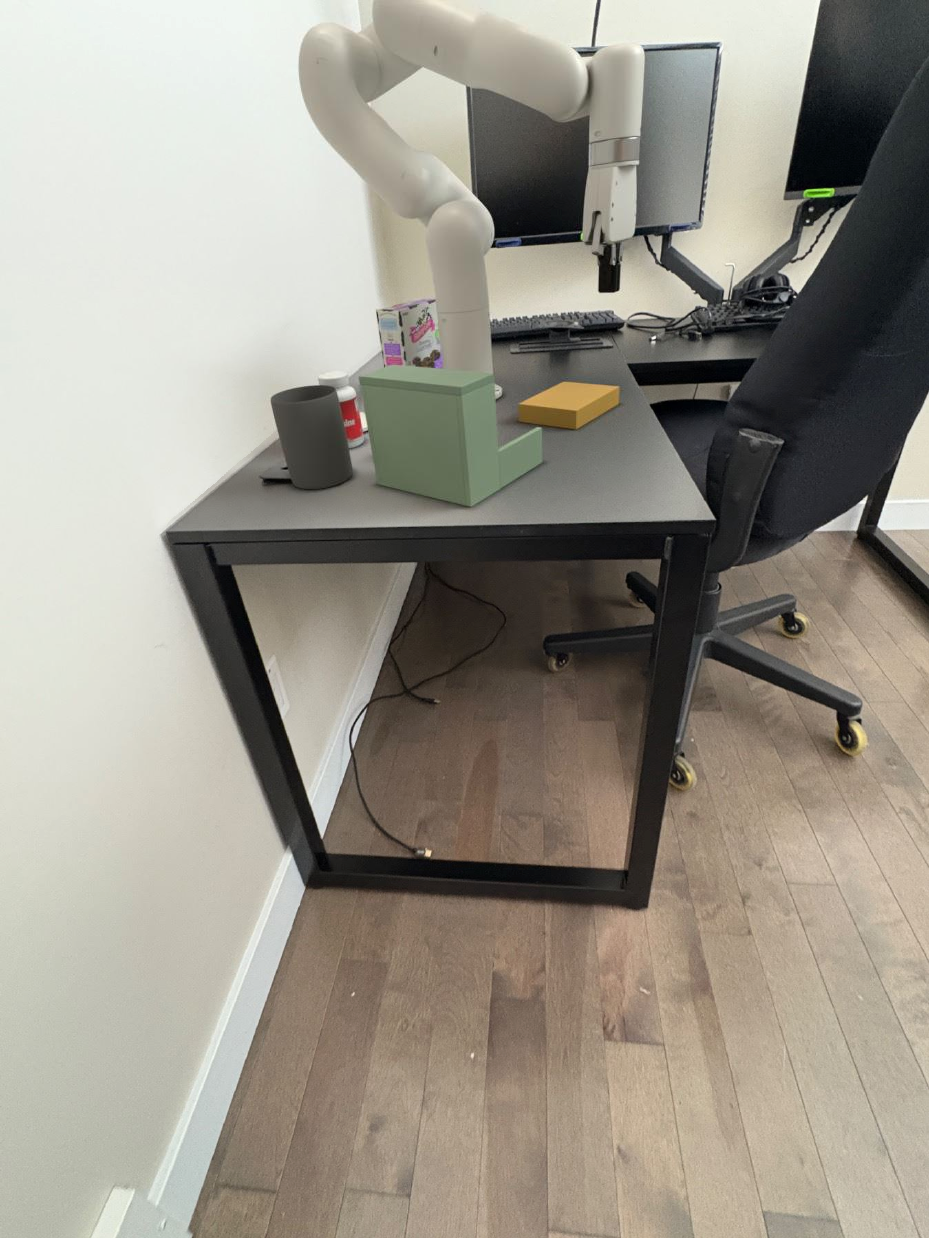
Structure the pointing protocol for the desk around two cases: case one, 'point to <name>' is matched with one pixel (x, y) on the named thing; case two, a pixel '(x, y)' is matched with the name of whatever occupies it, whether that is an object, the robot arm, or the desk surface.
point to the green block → (441, 433)
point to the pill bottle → (346, 405)
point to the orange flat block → (569, 404)
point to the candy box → (410, 334)
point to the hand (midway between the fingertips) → (608, 291)
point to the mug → (312, 436)
